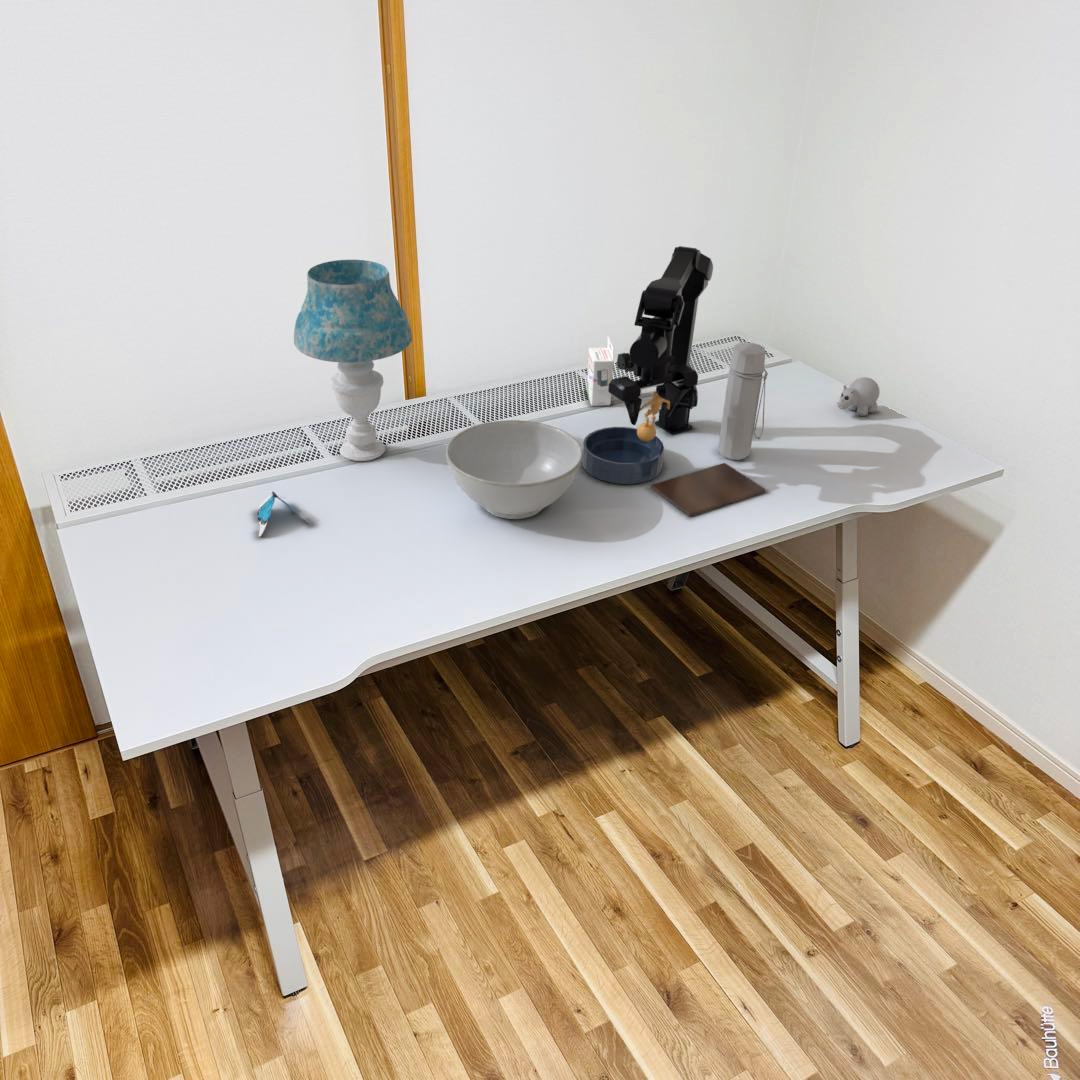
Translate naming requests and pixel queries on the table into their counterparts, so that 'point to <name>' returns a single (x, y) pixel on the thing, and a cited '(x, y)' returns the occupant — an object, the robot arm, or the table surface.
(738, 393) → the water bottle
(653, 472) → the basin
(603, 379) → the ink box
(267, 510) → the decorative butterfly
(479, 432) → the decorative bowl
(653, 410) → the figurine
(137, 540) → the table surface
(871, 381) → the chubby cartoon animal
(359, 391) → the table lamp
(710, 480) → the walnut board
